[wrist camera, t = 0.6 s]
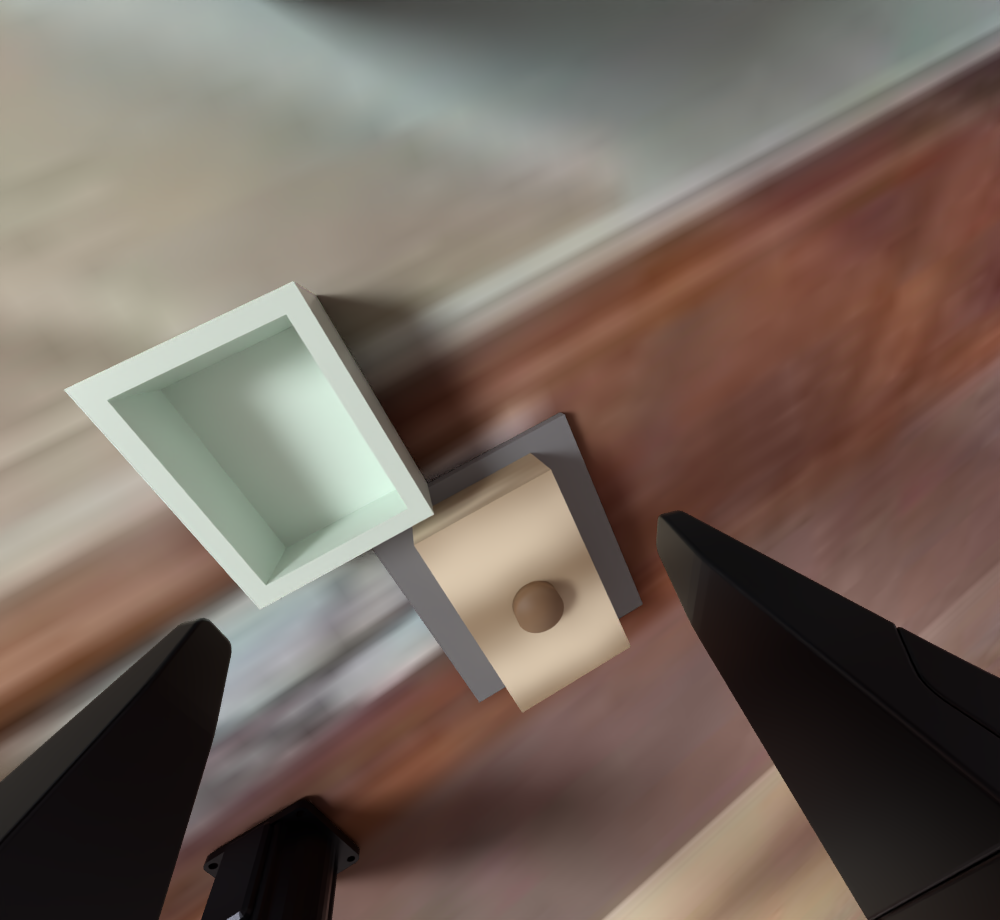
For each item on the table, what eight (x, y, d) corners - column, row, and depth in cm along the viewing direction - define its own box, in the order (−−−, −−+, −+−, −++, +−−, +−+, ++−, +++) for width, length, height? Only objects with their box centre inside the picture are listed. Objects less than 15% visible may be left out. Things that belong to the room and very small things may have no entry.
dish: (427, 483, 21) (434, 514, 17) (285, 560, 20) (260, 609, 16) (315, 294, 17) (293, 281, 14) (138, 379, 17) (64, 389, 13)
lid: (604, 613, 25) (638, 656, 22) (508, 670, 25) (526, 725, 21) (530, 452, 21) (557, 474, 18) (411, 517, 20) (414, 554, 17)
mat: (637, 598, 26) (642, 604, 26) (477, 694, 25) (479, 702, 25) (560, 412, 21) (564, 414, 21) (357, 521, 20) (356, 526, 20)
